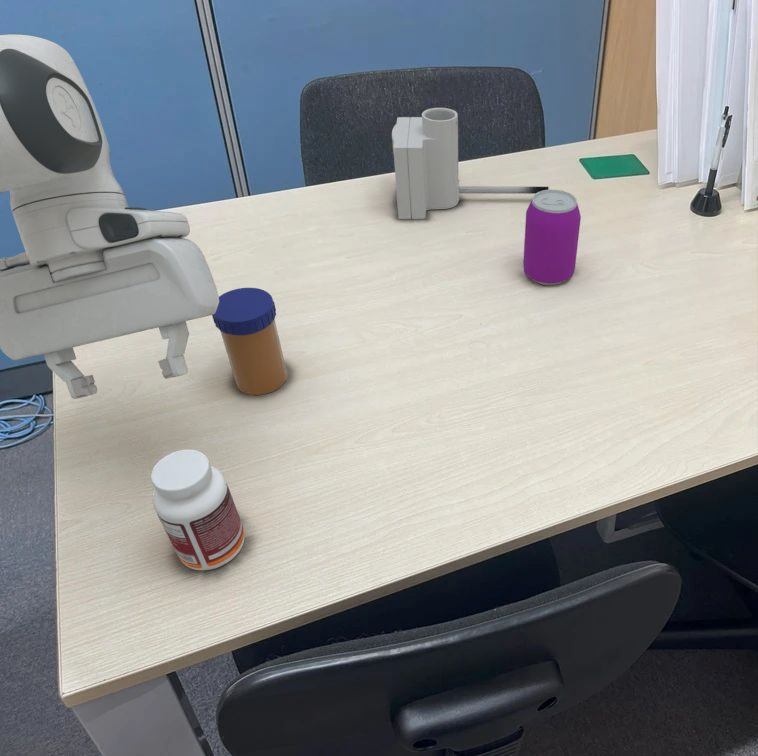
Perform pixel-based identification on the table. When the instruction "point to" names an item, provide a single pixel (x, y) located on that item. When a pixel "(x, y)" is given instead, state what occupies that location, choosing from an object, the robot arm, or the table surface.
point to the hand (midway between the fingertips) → (130, 386)
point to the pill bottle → (196, 510)
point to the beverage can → (551, 237)
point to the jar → (256, 360)
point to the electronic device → (432, 165)
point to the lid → (244, 311)
